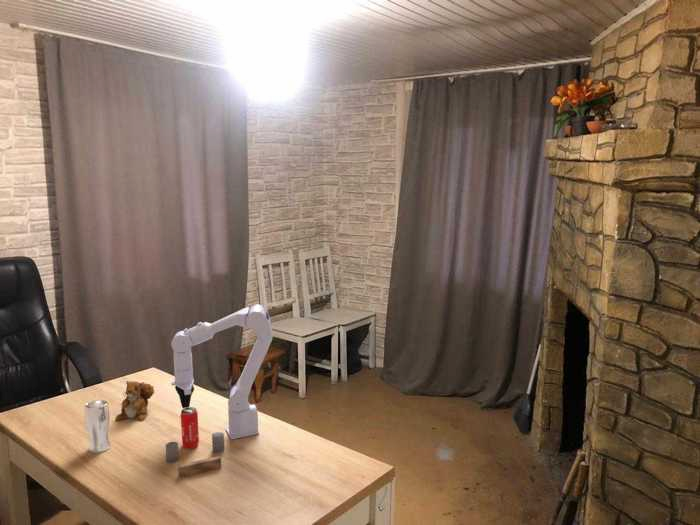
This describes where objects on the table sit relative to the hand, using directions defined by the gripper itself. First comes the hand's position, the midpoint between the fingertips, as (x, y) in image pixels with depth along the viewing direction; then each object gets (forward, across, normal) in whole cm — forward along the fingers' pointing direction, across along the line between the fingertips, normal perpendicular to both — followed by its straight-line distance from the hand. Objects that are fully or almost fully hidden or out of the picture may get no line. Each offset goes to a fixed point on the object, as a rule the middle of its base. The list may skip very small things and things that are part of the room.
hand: (185, 406), depth 180 cm
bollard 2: (+10, +14, +8) cm, 19 cm away
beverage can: (+10, +7, 0) cm, 13 cm away
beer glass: (+10, -4, -26) cm, 29 cm away
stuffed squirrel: (+10, -24, -14) cm, 30 cm away
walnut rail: (+10, +24, 0) cm, 26 cm away
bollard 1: (+10, +14, -6) cm, 18 cm away
